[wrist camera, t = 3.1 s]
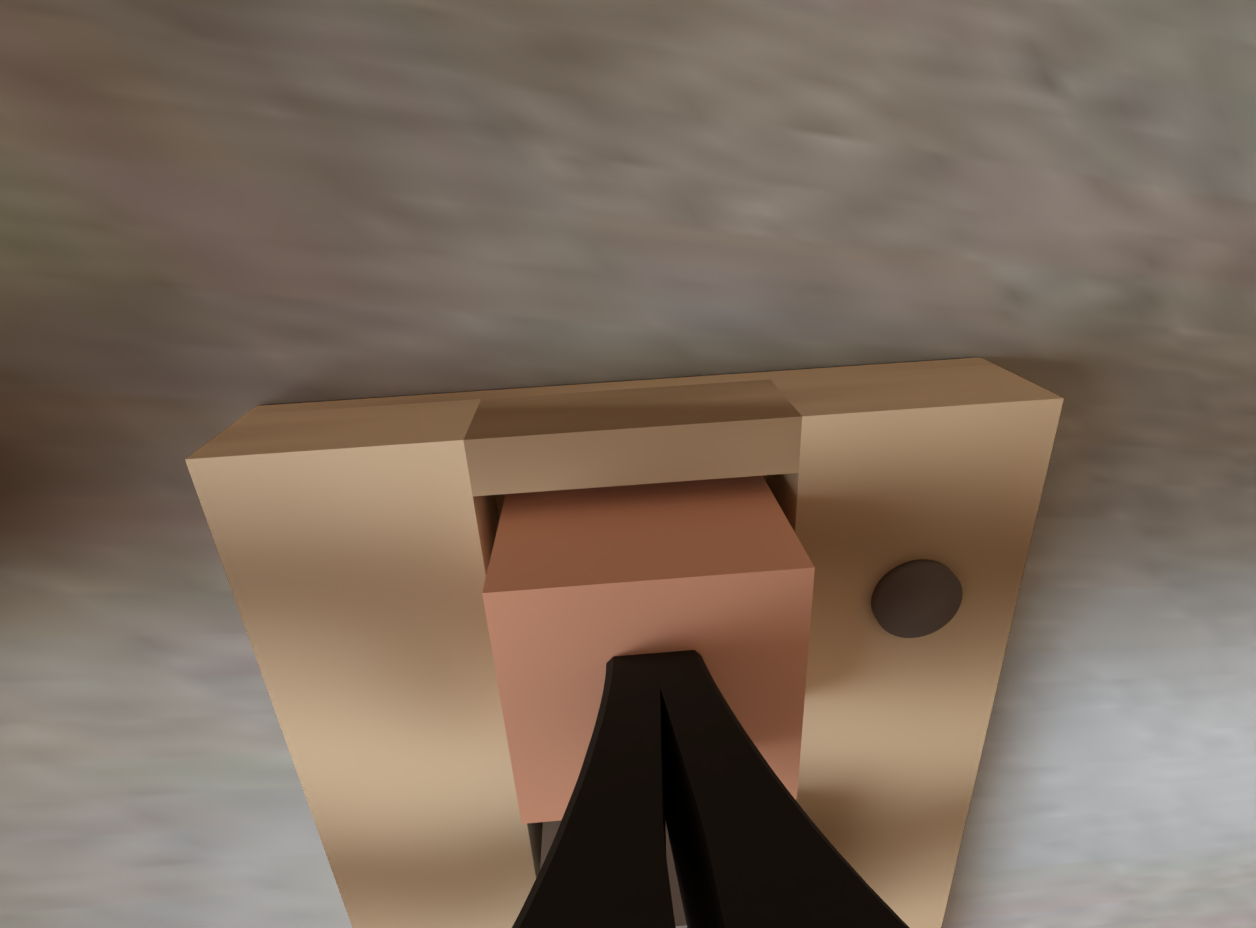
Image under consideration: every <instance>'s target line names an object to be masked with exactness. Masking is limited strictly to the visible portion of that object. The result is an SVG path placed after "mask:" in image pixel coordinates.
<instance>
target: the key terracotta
mask: <svg viewBox="0 0 1256 928" xmlns="http://www.w3.org/2000/svg"><path fill="white" fill-rule="evenodd" d="M814 571H815V567H814V565H813V563H812V562H811V560H810V558H809V556H808V555H807V553H806V551H805V549H804V548H803V546H802V544H801V542H800V541H799V539H798V537H797V535H796V534H795V532H794V530H793V528H792V527H791V525H790V523H789V521H788V520H787V518H786V516H785V514H784V513H783V511H782V509H781V507H780V506H779V504H778V502H777V500H776V499H775V497H774V495H773V493H772V492H771V490H770V488H769V486H768V485H767V483H766V481H765V479H764V478H763V476H749V477H735V478H721V479H707V480H693V481H679V482H666V483H652V484H638V485H624V486H610V487H597V488H583V489H569V490H555V491H541V492H528V493H514V494H505V499H504V503H503V507H502V511H501V516H500V520H499V524H498V528H497V533H496V537H495V541H494V545H493V549H492V554H491V558H490V562H489V566H488V571H487V575H486V579H485V583H484V587H483V592H482V595H483V601H484V607H485V613H486V619H487V625H488V630H489V636H490V642H491V648H492V654H493V660H494V666H495V671H496V677H497V683H498V689H499V695H500V701H501V707H502V712H503V718H504V724H505V730H506V736H507V742H508V748H509V753H510V759H511V765H512V771H513V777H514V783H515V788H516V794H517V800H518V806H519V812H520V818H521V824H527V823H538V822H549V821H560V820H562V818H563V815H564V813H565V810H566V808H567V805H568V803H569V800H570V798H571V795H572V793H573V790H574V787H575V785H576V782H577V779H578V777H579V774H580V771H581V768H582V765H583V762H584V759H585V755H586V752H587V749H588V746H589V743H590V740H591V737H592V733H593V730H594V727H595V723H596V719H597V715H598V711H599V708H600V703H601V699H602V694H603V689H604V682H605V675H606V663H607V662H608V661H609V660H610V659H611V658H612V657H613V656H625V655H637V654H650V653H662V652H674V651H686V650H695V651H696V652H698V653H699V654H700V655H701V656H702V658H703V660H704V662H705V664H706V666H707V668H708V670H709V672H710V674H711V676H712V678H713V679H714V681H715V683H716V685H717V687H718V688H719V690H720V692H721V693H722V695H723V697H724V698H725V700H726V702H727V703H728V705H729V707H730V708H731V710H732V711H733V713H734V715H735V716H736V718H737V719H738V721H739V722H740V724H741V725H742V727H743V728H744V730H745V731H746V733H747V734H748V736H749V737H750V739H751V740H752V741H753V743H754V744H755V746H756V747H757V749H758V750H759V751H760V753H761V754H762V756H763V757H764V759H765V760H766V761H767V763H768V764H769V766H770V767H771V768H772V770H773V771H774V772H775V774H776V775H777V776H778V778H779V779H780V780H781V782H782V783H783V784H784V786H785V787H786V788H787V790H788V791H789V792H790V793H791V795H792V796H793V797H794V799H795V800H796V799H797V791H798V778H799V765H800V752H801V739H802V726H803V714H804V701H805V688H806V675H807V662H808V649H809V636H810V623H811V610H812V597H813V584H814Z"/></svg>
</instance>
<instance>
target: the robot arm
mask: <svg viewBox="0 0 1256 928" xmlns="http://www.w3.org/2000/svg"><path fill="white" fill-rule="evenodd" d="M665 820H666V821H665ZM666 826H667V831H668V836H669V841H670V846H671V851H672V855H673V860H674V865H675V870H676V875H677V880H678V885H679V890H680V895H681V900H682V904H683V909H684V914H685V919H686V924H687V928H910V927H909V926H908V925H907V924H906V923H905V922H904V921H903V920H902V919H901V918H900V917H899V916H898V915H897V914H896V913H895V912H894V911H893V910H892V909H891V908H890V907H889V906H888V905H887V904H886V903H885V902H884V901H883V900H882V899H881V897H880V896H879V895H878V894H877V893H876V892H875V891H874V890H873V889H872V888H871V887H870V886H869V885H868V884H867V883H866V882H865V881H864V879H863V878H862V877H861V876H860V875H859V874H858V873H857V872H856V871H855V870H854V868H853V867H852V866H851V865H850V864H849V863H848V862H847V861H846V860H845V858H844V857H843V856H842V855H841V854H840V853H839V852H838V851H837V849H836V848H835V847H834V846H833V845H832V844H831V842H830V841H829V840H828V839H827V838H826V837H825V836H824V834H823V833H822V832H821V831H820V830H819V828H818V827H817V826H816V825H815V823H814V822H813V821H812V820H811V819H810V817H809V816H808V815H807V814H806V812H805V811H804V810H803V809H802V807H801V806H800V805H799V804H798V802H797V801H796V800H795V799H794V797H793V796H792V795H791V793H790V792H789V791H788V790H787V788H786V787H785V786H784V784H783V783H782V782H781V780H780V779H779V778H778V776H777V775H776V774H775V772H774V771H773V770H772V768H771V767H770V766H769V764H768V763H767V761H766V760H765V759H764V757H763V756H762V754H761V753H760V751H759V750H758V749H757V747H756V746H755V744H754V743H753V741H752V740H751V739H750V737H749V736H748V734H747V733H746V731H745V730H744V728H743V727H742V725H741V724H740V722H739V721H738V719H737V718H736V716H735V715H734V713H733V711H732V710H731V708H730V707H729V705H728V703H727V702H726V700H725V698H724V697H723V695H722V693H721V692H720V690H719V688H718V687H717V685H716V683H715V681H714V679H713V678H712V676H711V674H710V672H709V670H708V668H707V666H706V664H705V662H704V660H703V658H702V656H701V655H700V654H699V653H698V652H696V651H695V650H686V651H674V652H662V653H650V654H637V655H625V656H613V657H612V658H611V659H610V660H609V661H608V662H607V663H606V675H605V682H604V689H603V694H602V699H601V703H600V708H599V711H598V715H597V719H596V723H595V727H594V730H593V733H592V737H591V740H590V743H589V746H588V749H587V752H586V755H585V759H584V762H583V765H582V768H581V771H580V774H579V777H578V779H577V782H576V785H575V787H574V790H573V793H572V795H571V798H570V800H569V803H568V805H567V808H566V810H565V813H564V815H563V818H562V820H561V823H560V826H559V828H558V831H557V833H556V836H555V838H554V840H553V843H552V845H551V847H550V849H549V852H548V854H547V856H546V858H545V861H544V863H543V865H542V867H541V869H540V872H539V874H538V876H537V878H536V880H535V882H534V884H533V886H532V888H531V890H530V893H529V895H528V897H527V899H526V901H525V903H524V905H523V907H522V909H521V911H520V913H519V915H518V917H517V919H516V921H515V923H514V925H513V926H512V928H676V927H675V919H674V912H673V904H672V896H671V889H670V881H669V874H668V866H667V858H666Z"/></svg>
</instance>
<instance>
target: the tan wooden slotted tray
mask: <svg viewBox="0 0 1256 928" xmlns="http://www.w3.org/2000/svg"><path fill="white" fill-rule="evenodd" d="M1063 400H1064V398H1062V397H1060V396H1058V395H1056V394H1054V393H1052V392H1050V391H1048V390H1046V389H1044V388H1042V387H1040V386H1038V385H1036V384H1034V383H1032V382H1030V381H1028V380H1026V379H1024V378H1022V377H1020V376H1018V375H1016V374H1014V373H1011V372H1009V371H1007V370H1005V369H1003V368H1001V367H999V366H997V365H995V364H993V363H991V362H989V361H987V360H985V359H983V358H981V357H978V358H963V359H948V360H934V361H919V362H904V363H889V364H874V365H859V366H844V367H829V368H814V369H799V370H785V371H770V372H755V373H740V374H725V375H710V376H695V377H680V378H665V379H651V380H636V381H621V382H606V383H591V384H576V385H561V386H546V387H531V388H517V389H502V390H487V391H472V392H457V393H442V394H427V395H412V396H397V397H383V398H368V399H353V400H338V401H323V402H308V403H293V404H278V405H263V406H256V407H255V408H253V409H252V410H251V411H249V412H248V413H247V414H245V415H244V416H243V417H241V418H240V419H239V420H237V421H236V422H235V423H233V424H232V425H231V426H229V427H228V428H227V429H225V430H224V431H222V432H221V433H220V434H218V435H217V436H216V437H214V438H213V439H212V440H210V441H209V442H208V443H206V444H205V445H204V446H202V447H201V448H200V449H198V450H197V451H196V452H194V453H193V454H192V455H190V456H189V457H188V458H186V459H185V461H186V464H187V467H188V469H189V472H190V475H191V478H192V481H193V483H194V486H195V489H196V492H197V494H198V497H199V500H200V503H201V506H202V508H203V511H204V514H205V517H206V520H207V522H208V525H209V528H210V531H211V534H212V536H213V539H214V542H215V545H216V548H217V550H218V553H219V556H220V559H221V562H222V564H223V567H224V570H225V573H226V575H227V578H228V581H229V584H230V587H231V589H232V592H233V595H234V598H235V601H236V603H237V606H238V609H239V612H240V615H241V617H242V620H243V623H244V626H245V629H246V631H247V634H248V637H249V640H250V643H251V645H252V648H253V651H254V654H255V656H256V659H257V662H258V665H259V668H260V670H261V673H262V676H263V679H264V682H265V684H266V687H267V690H268V693H269V696H270V698H271V701H272V704H273V707H274V710H275V712H276V715H277V718H278V721H279V724H280V726H281V729H282V732H283V735H284V737H285V740H286V743H287V746H288V749H289V751H290V754H291V757H292V760H293V763H294V765H295V768H296V771H297V774H298V777H299V779H300V782H301V785H302V788H303V791H304V793H305V796H306V799H307V802H308V804H309V807H310V810H311V813H312V816H313V818H314V821H315V824H316V827H317V830H318V832H319V835H320V838H321V841H322V844H323V846H324V849H325V852H326V855H327V858H328V860H329V863H330V866H331V869H332V872H333V874H334V877H335V880H336V883H337V885H338V888H339V891H340V894H341V897H342V899H343V902H344V905H345V908H346V911H347V913H348V916H349V919H350V922H351V925H352V927H353V928H512V926H513V925H514V923H515V921H516V919H517V917H518V915H519V913H520V911H521V909H522V907H523V905H524V903H525V901H526V899H527V897H528V895H529V893H530V890H531V888H532V886H533V884H534V882H535V880H536V878H537V876H538V874H539V872H540V862H541V846H542V830H543V822H538V823H527V824H521V818H520V812H519V806H518V800H517V794H516V788H515V783H514V777H513V771H512V765H511V759H510V753H509V748H508V742H507V736H506V730H505V724H504V718H503V712H502V707H501V701H500V695H499V689H498V683H497V677H496V671H495V666H494V660H493V654H492V648H491V642H490V636H489V630H488V625H487V619H486V613H485V607H484V601H483V595H482V592H483V587H484V583H485V579H486V575H487V571H488V566H489V562H490V558H491V554H492V549H493V545H494V541H495V537H496V533H497V528H498V524H499V520H500V516H501V511H502V507H503V503H504V499H505V494H514V493H528V492H541V491H555V490H569V489H583V488H597V487H610V486H624V485H638V484H652V483H666V482H679V481H693V480H707V479H721V478H735V477H749V476H763V478H764V479H765V481H766V483H767V485H768V486H769V488H770V490H771V492H772V493H773V495H774V497H775V499H776V500H777V502H778V504H779V506H780V507H781V509H782V511H783V513H784V514H785V516H786V518H787V520H788V521H789V523H790V525H791V527H792V528H793V530H794V532H795V534H796V535H797V537H798V539H799V541H800V542H801V544H802V546H803V548H804V549H805V551H806V553H807V555H808V556H809V558H810V560H811V562H812V563H813V565H814V567H815V571H814V584H813V597H812V610H811V623H810V636H809V649H808V662H807V675H806V688H805V701H804V714H803V726H802V739H801V752H800V765H799V778H798V791H797V799H796V801H797V802H798V804H799V805H800V806H801V807H802V809H803V810H804V811H805V812H806V814H807V815H808V816H809V817H810V819H811V820H812V821H813V822H814V823H815V825H816V826H817V827H818V828H819V830H820V831H821V832H822V833H823V834H824V836H825V837H826V838H827V839H828V840H829V841H830V842H831V844H832V845H833V846H834V847H835V848H836V849H837V851H838V852H839V853H840V854H841V855H842V856H843V857H844V858H845V860H846V861H847V862H848V863H849V864H850V865H851V866H852V867H853V868H854V870H855V871H856V872H857V873H858V874H859V875H860V876H861V877H862V878H863V879H864V881H865V882H866V883H867V884H868V885H869V886H870V887H871V888H872V889H873V890H874V891H875V892H876V893H877V894H878V895H879V896H880V897H881V899H882V900H883V901H884V902H885V903H886V904H887V905H888V906H889V907H890V908H891V909H892V910H893V911H894V912H895V913H896V914H897V915H898V916H899V917H900V918H901V919H902V920H903V921H904V922H905V923H906V924H907V925H908V926H909V927H910V928H941V926H942V922H943V918H944V913H945V909H946V905H947V900H948V896H949V892H950V887H951V883H952V879H953V875H954V870H955V866H956V862H957V857H958V853H959V849H960V844H961V840H962V836H963V831H964V827H965V823H966V818H967V814H968V810H969V806H970V801H971V797H972V793H973V788H974V784H975V780H976V775H977V771H978V767H979V762H980V758H981V754H982V749H983V745H984V741H985V737H986V732H987V728H988V724H989V719H990V715H991V711H992V706H993V702H994V698H995V693H996V689H997V685H998V681H999V676H1000V672H1001V668H1002V663H1003V659H1004V655H1005V650H1006V646H1007V642H1008V637H1009V633H1010V629H1011V624H1012V620H1013V616H1014V612H1015V607H1016V603H1017V599H1018V594H1019V590H1020V586H1021V581H1022V577H1023V573H1024V568H1025V564H1026V560H1027V555H1028V551H1029V547H1030V543H1031V538H1032V534H1033V530H1034V525H1035V521H1036V517H1037V512H1038V508H1039V504H1040V499H1041V495H1042V491H1043V486H1044V482H1045V478H1046V474H1047V469H1048V465H1049V461H1050V456H1051V452H1052V448H1053V443H1054V439H1055V435H1056V430H1057V426H1058V422H1059V417H1060V413H1061V409H1062V405H1063Z"/></svg>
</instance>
